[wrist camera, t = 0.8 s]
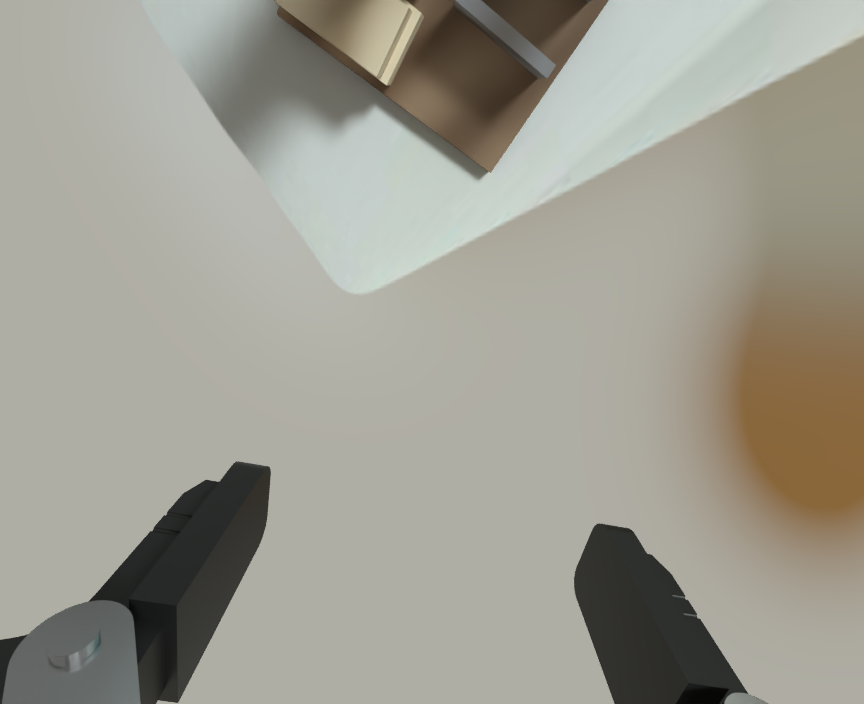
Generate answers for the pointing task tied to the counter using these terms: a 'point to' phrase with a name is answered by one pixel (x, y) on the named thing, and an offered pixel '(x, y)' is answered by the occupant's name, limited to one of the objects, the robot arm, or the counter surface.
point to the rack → (479, 66)
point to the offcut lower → (400, 49)
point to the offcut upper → (356, 26)
